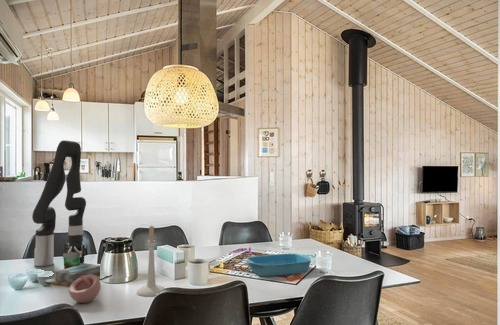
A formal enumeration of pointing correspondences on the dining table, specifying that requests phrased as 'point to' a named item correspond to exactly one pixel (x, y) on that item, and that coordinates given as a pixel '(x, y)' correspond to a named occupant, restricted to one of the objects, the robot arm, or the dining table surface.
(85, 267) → the plinth
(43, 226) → the robot arm
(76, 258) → the food container
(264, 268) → the casserole dish
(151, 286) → the candlestick
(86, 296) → the mortar and pestle
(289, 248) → the dining table surface
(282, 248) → the dining table surface
